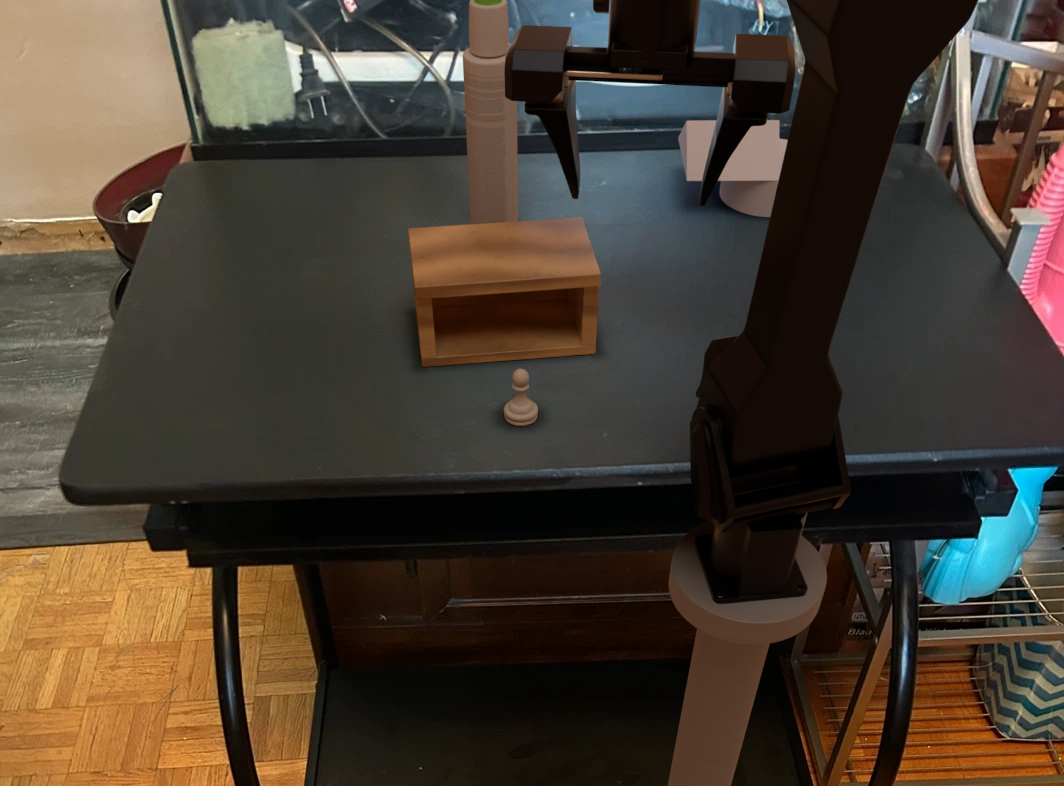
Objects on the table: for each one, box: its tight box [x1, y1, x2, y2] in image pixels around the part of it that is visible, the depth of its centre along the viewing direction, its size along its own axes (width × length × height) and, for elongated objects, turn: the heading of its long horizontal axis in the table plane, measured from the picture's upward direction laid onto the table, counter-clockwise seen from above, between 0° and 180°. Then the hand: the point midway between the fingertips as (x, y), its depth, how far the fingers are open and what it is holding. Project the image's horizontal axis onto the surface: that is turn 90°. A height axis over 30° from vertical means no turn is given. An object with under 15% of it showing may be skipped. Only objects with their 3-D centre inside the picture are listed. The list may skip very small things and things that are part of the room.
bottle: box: [462, 0, 519, 224], centre depth 86 cm, size 4×4×20 cm
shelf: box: [407, 216, 602, 368], centre depth 82 cm, size 9×14×7 cm, turn 97°
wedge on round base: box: [677, 119, 788, 218], centre depth 96 cm, size 9×7×13 cm
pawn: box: [503, 368, 539, 427], centre depth 76 cm, size 3×3×4 cm
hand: (638, 200), depth 74 cm, fingers open, 9 cm apart
